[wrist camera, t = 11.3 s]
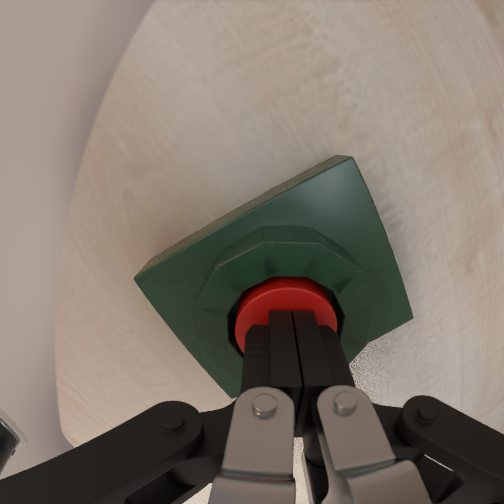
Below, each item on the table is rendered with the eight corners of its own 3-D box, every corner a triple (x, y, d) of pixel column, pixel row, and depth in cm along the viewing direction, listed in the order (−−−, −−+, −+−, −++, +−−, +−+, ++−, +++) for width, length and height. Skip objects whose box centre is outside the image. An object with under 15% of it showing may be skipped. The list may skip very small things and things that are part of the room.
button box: (234, 372, 16) (228, 425, 12) (149, 259, 14) (114, 298, 10) (397, 296, 14) (430, 340, 10) (337, 154, 12) (370, 157, 8)
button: (265, 355, 12) (265, 382, 11) (221, 292, 11) (214, 316, 10) (340, 320, 12) (351, 345, 10) (304, 249, 11) (312, 268, 9)
